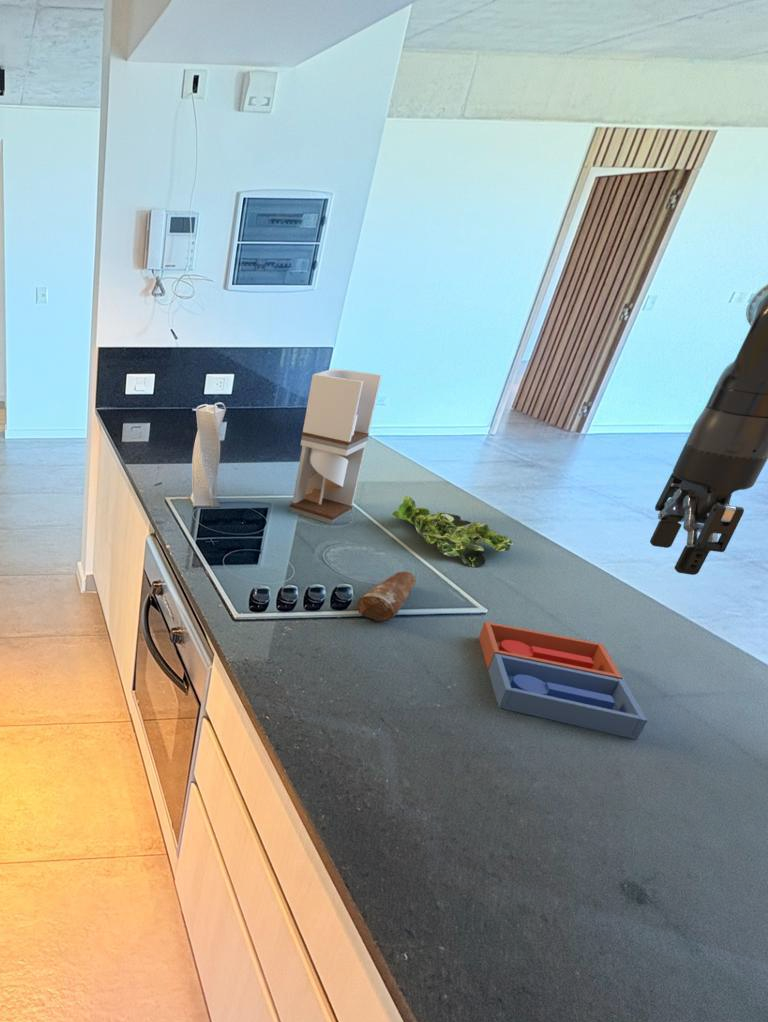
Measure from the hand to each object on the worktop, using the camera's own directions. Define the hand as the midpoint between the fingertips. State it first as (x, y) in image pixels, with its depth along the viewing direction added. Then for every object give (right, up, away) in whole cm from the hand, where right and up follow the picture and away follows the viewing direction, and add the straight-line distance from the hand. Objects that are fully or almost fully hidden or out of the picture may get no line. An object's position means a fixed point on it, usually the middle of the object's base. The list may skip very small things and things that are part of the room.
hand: (671, 558), depth 85 cm
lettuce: (+7, +2, +59) cm, 60 cm away
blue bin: (-8, -22, +9) cm, 26 cm away
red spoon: (-4, -18, +17) cm, 25 cm away
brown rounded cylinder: (-20, -10, +35) cm, 42 cm away
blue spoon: (-8, -22, +9) cm, 25 cm away
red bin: (-4, -18, +17) cm, 26 cm away
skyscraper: (-45, +12, +81) cm, 93 cm away
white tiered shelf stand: (-16, +10, +75) cm, 77 cm away
